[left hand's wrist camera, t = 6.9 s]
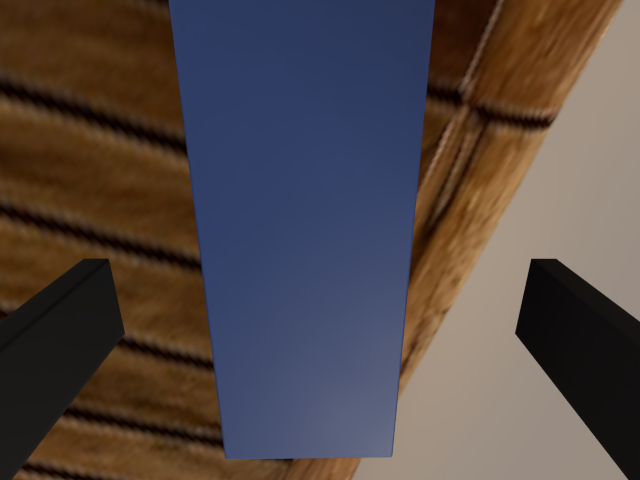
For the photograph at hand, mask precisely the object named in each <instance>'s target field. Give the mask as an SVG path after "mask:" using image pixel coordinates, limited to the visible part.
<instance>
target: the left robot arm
mask: <svg viewBox="0 0 640 480" xmlns="http://www.w3.org/2000/svg"><path fill="white" fill-rule="evenodd" d="M124 334H125V331H124V327H123V322H122V318H121V313H120V309H119V304H118V299H117V295H116V290H115V286H114V281H113V276H112V272H111V267H110V263H109V259H83V260H82V261H80V262H79V263H78V264H76V265H75V266H74V267H72V268H71V269H70V270H68V271H67V272H66V273H64V274H63V275H62V276H60V277H59V278H58V279H56V280H55V281H54V282H52V283H51V284H50V285H48V286H47V287H46V288H44V289H43V290H42V291H40V292H39V293H38V294H36V295H35V296H34V297H32V298H31V299H30V300H28V301H27V302H26V303H24V304H23V305H22V306H20V307H19V308H18V309H16V310H15V311H14V312H12V313H11V314H10V315H8V316H7V317H6V318H4V319H3V320H2V321H0V480H12V479H13V477H14V476H15V475H16V473H17V472H18V471H19V470H20V468H21V467H22V466H23V464H24V463H25V462H26V460H27V459H28V458H29V457H30V455H31V454H32V453H33V451H34V450H35V449H36V448H37V446H38V445H39V444H40V442H41V441H42V440H43V439H44V437H45V436H46V435H47V433H48V432H49V431H50V429H51V428H52V427H53V426H54V424H55V423H56V422H57V420H58V419H59V418H60V417H61V415H62V414H63V413H64V411H65V410H66V409H67V408H68V406H69V405H70V404H71V402H72V401H73V400H74V399H75V397H76V396H77V395H78V393H79V392H80V391H81V389H82V388H83V387H84V386H85V384H86V383H87V382H88V380H89V379H90V378H91V377H92V375H93V374H94V373H95V371H96V370H97V369H98V368H99V366H100V365H101V364H102V362H103V361H104V360H105V359H106V357H107V356H108V355H109V353H110V352H111V351H112V349H113V348H114V347H115V346H116V344H117V343H118V342H119V340H120V339H121V338H122V337H123V335H124ZM515 334H516V335H517V337H518V338H519V339H520V340H521V342H522V343H523V344H524V345H525V347H526V348H527V349H528V351H529V352H530V353H531V355H532V356H533V357H534V359H535V360H536V361H537V362H538V364H539V365H540V366H541V367H542V369H543V370H544V371H545V373H546V374H547V375H548V377H549V378H550V379H551V380H552V382H553V383H554V384H555V386H556V387H557V388H558V389H559V391H560V392H561V393H562V395H563V396H564V397H565V398H566V400H567V401H568V402H569V404H570V405H571V406H572V408H573V409H574V410H575V411H576V413H577V414H578V415H579V417H580V418H581V419H582V420H583V422H584V423H585V424H586V426H587V427H588V428H589V429H590V431H591V432H592V433H593V435H594V436H595V437H596V439H597V440H598V441H599V442H600V444H601V445H602V446H603V448H604V449H605V450H606V451H607V453H608V454H609V455H610V457H611V458H612V459H613V460H614V462H615V463H616V464H617V466H618V467H619V468H620V470H621V471H622V472H623V473H624V475H625V476H626V477H627V479H628V480H640V321H638V320H637V319H635V318H634V317H633V316H632V315H630V314H629V313H628V312H626V311H625V310H624V309H622V308H621V307H620V306H618V305H617V304H616V303H614V302H613V301H611V300H610V299H609V298H608V297H606V296H605V295H604V294H602V293H601V292H600V291H598V290H597V289H596V288H594V287H593V286H592V285H590V284H589V283H588V282H586V281H585V280H584V279H582V278H581V277H580V276H578V275H577V274H576V273H574V272H573V271H572V270H570V269H569V268H568V267H566V266H565V265H564V264H562V263H561V262H559V261H558V260H557V259H531V263H530V267H529V272H528V277H527V281H526V286H525V290H524V295H523V299H522V304H521V309H520V313H519V318H518V322H517V327H516V331H515Z"/></svg>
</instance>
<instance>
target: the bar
mask: <svg viewBox="0 0 640 480" xmlns="http://www.w3.org/2000/svg"><path fill="white" fill-rule="evenodd" d="M434 6H435V0H169V8H170V16H171V24H172V32H173V40H174V48H175V56H176V64H177V72H178V81H179V89H180V97H181V105H182V113H183V121H184V129H185V137H186V145H187V153H188V161H189V169H190V177H191V186H192V194H193V202H194V210H195V218H196V226H197V234H198V242H199V250H200V258H201V266H202V274H203V282H204V291H205V299H206V307H207V315H208V323H209V331H210V339H211V347H212V355H213V363H214V371H215V379H216V387H217V396H218V404H219V412H220V420H221V428H222V436H223V444H224V452H225V458H226V459H275V458H359V457H391V456H392V452H393V442H394V431H395V421H396V410H397V399H398V389H399V378H400V368H401V357H402V346H403V336H404V325H405V314H406V304H407V293H408V282H409V272H410V261H411V250H412V240H413V229H414V219H415V208H416V197H417V187H418V176H419V165H420V155H421V144H422V133H423V123H424V112H425V101H426V91H427V80H428V69H429V59H430V48H431V38H432V27H433V16H434Z"/></svg>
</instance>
